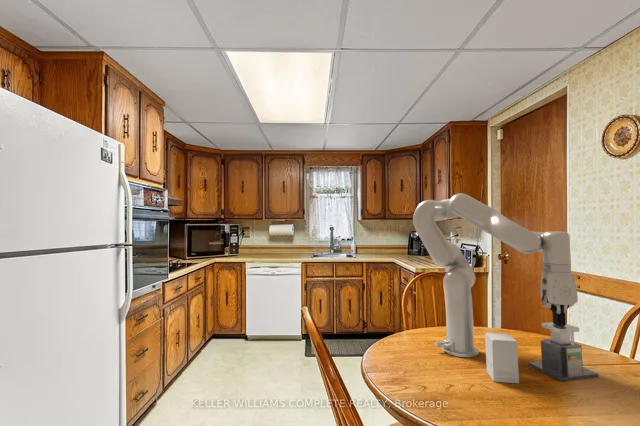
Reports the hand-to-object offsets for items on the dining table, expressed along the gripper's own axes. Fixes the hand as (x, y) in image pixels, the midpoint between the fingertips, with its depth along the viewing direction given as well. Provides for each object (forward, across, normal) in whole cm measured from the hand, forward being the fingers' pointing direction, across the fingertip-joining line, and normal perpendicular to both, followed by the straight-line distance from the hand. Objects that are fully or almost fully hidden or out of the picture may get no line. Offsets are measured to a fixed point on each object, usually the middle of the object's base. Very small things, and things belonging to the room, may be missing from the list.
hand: (559, 324), depth 107 cm
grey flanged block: (+9, 0, -1) cm, 9 cm away
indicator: (+9, -1, -6) cm, 11 cm away
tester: (+15, 0, 0) cm, 15 cm away
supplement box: (+15, -22, 0) cm, 27 cm away
